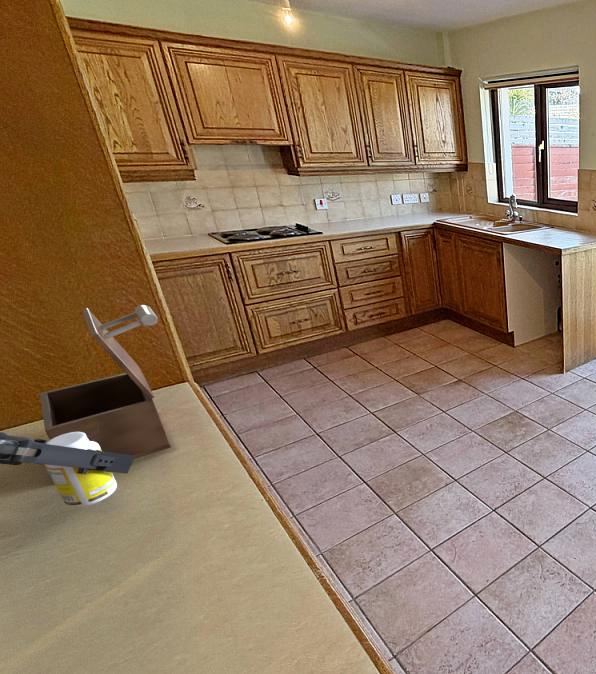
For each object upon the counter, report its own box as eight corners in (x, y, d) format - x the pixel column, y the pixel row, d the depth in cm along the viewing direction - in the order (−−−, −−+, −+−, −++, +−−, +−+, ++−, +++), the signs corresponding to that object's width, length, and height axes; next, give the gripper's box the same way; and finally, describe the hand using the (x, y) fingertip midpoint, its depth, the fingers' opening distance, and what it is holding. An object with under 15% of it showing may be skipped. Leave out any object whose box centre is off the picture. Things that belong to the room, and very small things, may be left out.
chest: (70, 480, 76) (44, 430, 72) (62, 439, 86) (40, 393, 82) (171, 447, 85) (153, 400, 81) (154, 413, 94) (137, 369, 91)
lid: (92, 336, 73) (152, 312, 78) (82, 309, 82) (136, 289, 87) (150, 399, 81) (202, 374, 85) (134, 369, 90) (182, 347, 95)
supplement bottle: (124, 479, 74) (100, 424, 70) (110, 502, 70) (84, 446, 66) (75, 488, 72) (47, 433, 68) (58, 513, 67) (27, 455, 63)
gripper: (-202, 463, 50) (42, 480, 72) (-45, 482, 49) (155, 494, 71) (-154, 395, 53) (67, 431, 75) (-4, 411, 52) (177, 444, 74)
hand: (110, 462), depth 73 cm, fingers closed on supplement bottle, 6 cm apart
